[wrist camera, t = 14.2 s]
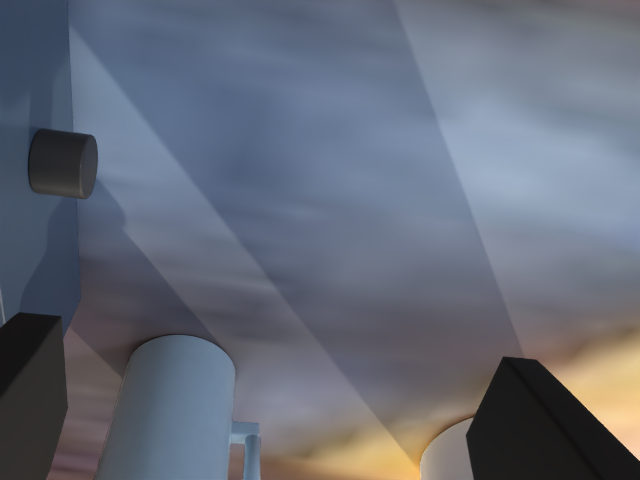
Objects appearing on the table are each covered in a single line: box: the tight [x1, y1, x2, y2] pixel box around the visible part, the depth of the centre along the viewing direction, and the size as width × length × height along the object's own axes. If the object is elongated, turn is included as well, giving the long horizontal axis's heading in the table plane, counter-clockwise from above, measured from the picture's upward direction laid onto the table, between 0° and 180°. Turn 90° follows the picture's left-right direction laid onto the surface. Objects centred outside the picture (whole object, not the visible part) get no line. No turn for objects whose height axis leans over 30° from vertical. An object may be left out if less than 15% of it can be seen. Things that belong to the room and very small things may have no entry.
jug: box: [93, 335, 261, 480], centre depth 20 cm, size 6×4×8 cm
